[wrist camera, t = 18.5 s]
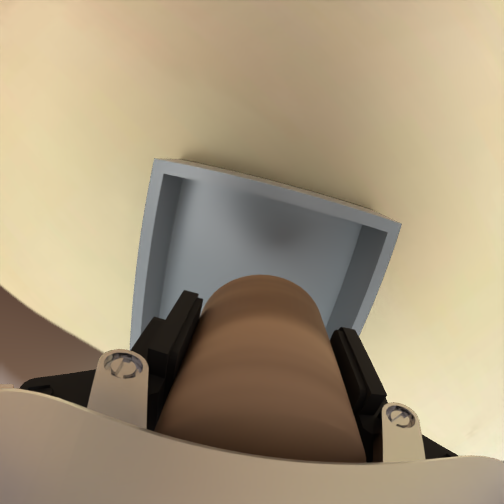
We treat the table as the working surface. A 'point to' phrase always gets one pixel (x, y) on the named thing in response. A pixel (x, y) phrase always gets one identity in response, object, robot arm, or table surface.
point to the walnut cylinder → (263, 378)
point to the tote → (255, 242)
